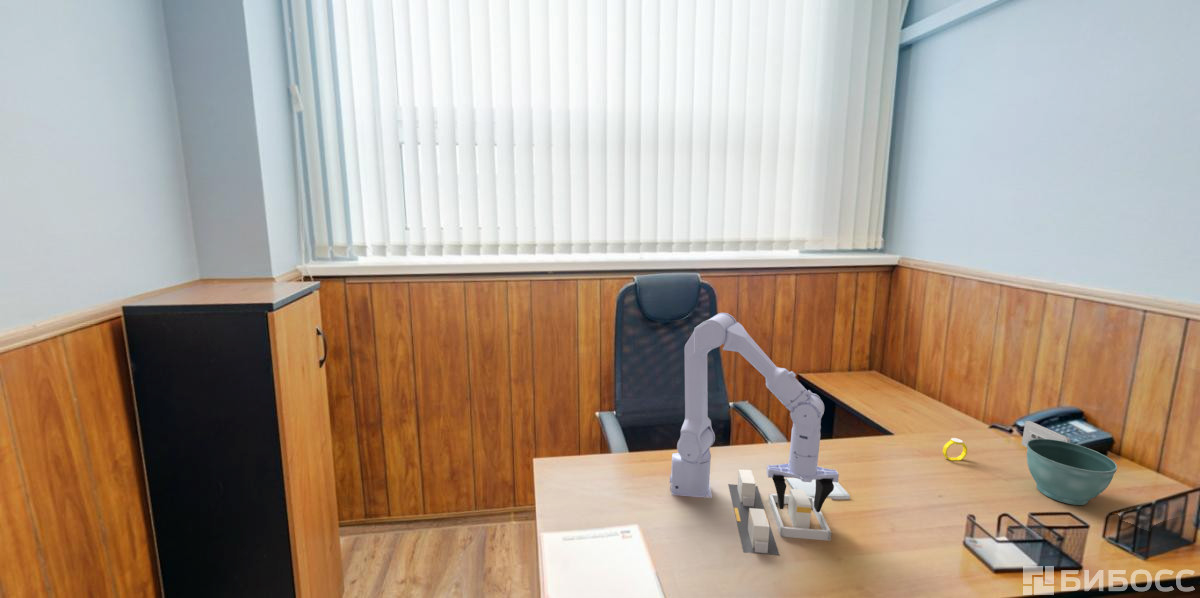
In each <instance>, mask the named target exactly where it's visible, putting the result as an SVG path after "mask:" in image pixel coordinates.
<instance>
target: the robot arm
mask: <svg viewBox="0 0 1200 598" xmlns="http://www.w3.org/2000/svg"><path fill="white" fill-rule="evenodd" d="M722 345H723V347H722V350H723V351H730V352H735V353H739V354H740V355H741V356H742V357H743V358H744V359H745V360H746V361H748V362H749V364H750V365H751V366H753V367H754V368H755V369H756V370H757V372H759V373H760V374H761V375H762V377H764V379H765V386H766V388H767V389H768V390H769V391H770V392H771V393H772V395H774V396H775V397H776V398H777V400H778V401H779V402H781V404H782V405H783V406H784V407H785V408H786V409H787V410H788V411H789V412H790V413H789V414H790V418H791V421H792V428H791V435H790V447H789V456H788V463H782V464H781V463H780V464H779V463H778V464H768V465H767V464H766V471H765V472H766V473H765V474H766V475H767V478H771V479H772V481H773V484H774V487H775V490H776V494H777V497H778V503H777V505H778V508H779V509H780V510H784V508H785V507H784V506H785V504H784V495H786V490H787V484H786V478H797V479H801V481H803V482H812V480H815V479H816V492H815V497H814V498H815V499H814V508H815V510H816V512H820V510H822V507H823V505H824V503H825V501H826V499H827V498H828V497H827V496H828V495H829V494H830V493H831V492H832V491H833V489H834V485H833V483H832V482H838V483H839V477H840V476H839V475H840V474H839V472H838V471H837V469H834V468H832V469H831V468H825V467H822V466H818V463H819V453H820V442H821V436H822V435H821V429H822V426H821V423H822V417H823V416H824V412H825V404H824V402H823V400H822V399H821V397H820V396H819V395H818V394H817V393H813V392H812V391H811V390H810V389H808V390H807V388H805V386H804V385H803V384H802V383H801V382H799V380H798V379H797V378H796V376H797V374H796V373H795V372H794V371H793V370H791V371H789V370H788V369H787V368H785V367H778V366H776V364H775V363H774V362H773V361H772V360H771V359H770V357H769V356H768V355H767V354H766V353H765V352H764V350H763V349H762V348H761V347H760V346H759V345H758V343H757V342H756V341H755V340H754V339H753V337H751V336H750V334H749V333H748V332H747V330H746V328H744V326H743V324H741V323H740V322H738V321H737V320H736V319H735V317H734V316H732V315H731V314H730V313H727V312H719V313H716V314H715V315H713V316H712V317H710V318H709V319H706V320H704V321H702V322H701V323H700V324H698V325H697V326H696V327H694V329H693V332H692V333H691V335H690V337H689V339H687V342H686V343H685V345H684V348H683V349H684V353H683V354H684V421H683V423H682V426H681V429H680V437H679V439H678V441H677V445H676V449H677V452H675V453H672V454H671V471H670V472H671V473H670V476H669V483H670V489H671V490H670V491H671V495H673V496H684V497H693V498H694V497H695V498H709V499H710V498H711V499H712V498H713V494H712V490H711V482H710V475H711V458H712V454H711V451H710V447H711V446H713V444H714V443H715V440H716V435H715V431H714V430H713V428H712V420H711V418H709V417H708V415H709V414H708V402H709V401H708V396H709V395H708V394H709V393H708V353H710V351H712V350H714V349H717V348H719V347H721V346H722Z"/></svg>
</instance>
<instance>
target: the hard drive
mask: <svg viewBox="0 0 1200 598" xmlns="http://www.w3.org/2000/svg"><path fill="white" fill-rule="evenodd" d="M785 482H787V484H788V485H789V486H790V489H801V490H804V491H805V493H806V495H807V496H809V497H814V498H815V492H816V479H815V480H812V482H803V481H801V479H797V478H790V477H785ZM832 483H833V485H834V489H833V491H832V492H831V493H830V494H829V495H828V496H827V498H830V499H831V500H850V498H851V495H850V494H849V493H848V491H847V490H846V489H845V488H844V487H843V486H842V485H841V484H840V483H839V481H838V482H832Z"/></svg>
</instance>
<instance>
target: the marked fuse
mask: <svg viewBox="0 0 1200 598" xmlns="http://www.w3.org/2000/svg"><path fill="white" fill-rule="evenodd" d="M788 495H789V504H787V505H788V508H787V515H788V517H789V519H790V521H791V524H792V527H794V528H806V529H810V526H811V515H812V514H811V513H812V505H811V503H810V501H809V499H808V497H807V495H806V493H805V491H804V490H801V489H792V488H789V494H788Z"/></svg>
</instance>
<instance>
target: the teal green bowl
mask: <svg viewBox="0 0 1200 598" xmlns="http://www.w3.org/2000/svg"><path fill="white" fill-rule="evenodd" d="M1026 450H1027V451H1026V464H1027V466H1028V467H1027V468H1028V470H1029V473H1030V475H1031V478H1032V479H1033V480H1034V482H1035V484H1036V485H1035V486H1036V489H1037V490H1038V491H1039V492H1040V493H1042V494H1043V495H1044V496H1046V497H1047V498H1050V499H1053V500H1054V501H1058V502H1061V503H1065V504H1069V505H1075V506H1084V505H1087V504H1088V503H1089V501H1090V500H1091V499H1093V498H1096V497H1097V496H1100V495H1101V494H1102V493H1103V492H1104V491H1105V490H1106V489H1107V488H1108V487H1109V485H1110V484H1111V483H1112V480H1113V478H1114V475H1115V474H1116V472H1117V469H1118V464H1117V463H1116V462H1115V461H1114V460H1113V459H1111V458H1109V456H1106V455H1105V454H1104V453H1103V454H1102V453H1100V452H1098V451H1096V450H1094V449H1091V448H1088V447H1086V446H1083V445H1080V444H1075V443H1071V442H1070V443H1069V442H1064V441H1059V440H1052V439H1044V438H1042V439H1032V440H1029V441H1028V442H1027V448H1026Z"/></svg>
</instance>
